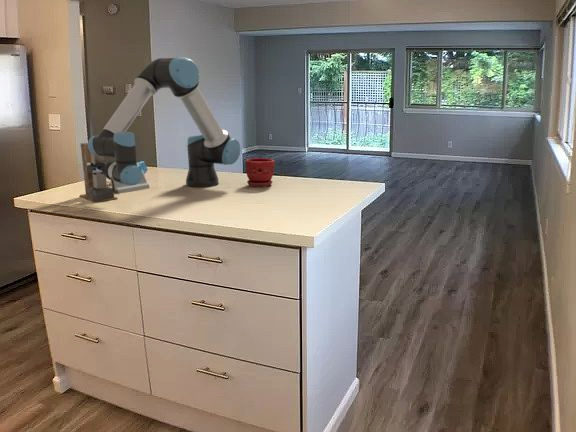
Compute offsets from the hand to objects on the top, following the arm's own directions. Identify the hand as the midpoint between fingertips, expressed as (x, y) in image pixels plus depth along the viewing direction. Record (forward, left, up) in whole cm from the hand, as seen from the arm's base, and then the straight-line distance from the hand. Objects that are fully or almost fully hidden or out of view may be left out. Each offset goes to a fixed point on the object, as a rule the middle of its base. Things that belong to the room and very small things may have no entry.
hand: (93, 165), depth 238 cm
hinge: (-11, -15, -14) cm, 23 cm away
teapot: (-7, -37, -14) cm, 40 cm away
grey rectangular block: (-3, +4, -9) cm, 10 cm away
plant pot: (-70, -16, -14) cm, 73 cm away
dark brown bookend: (-1, +1, -14) cm, 14 cm away
